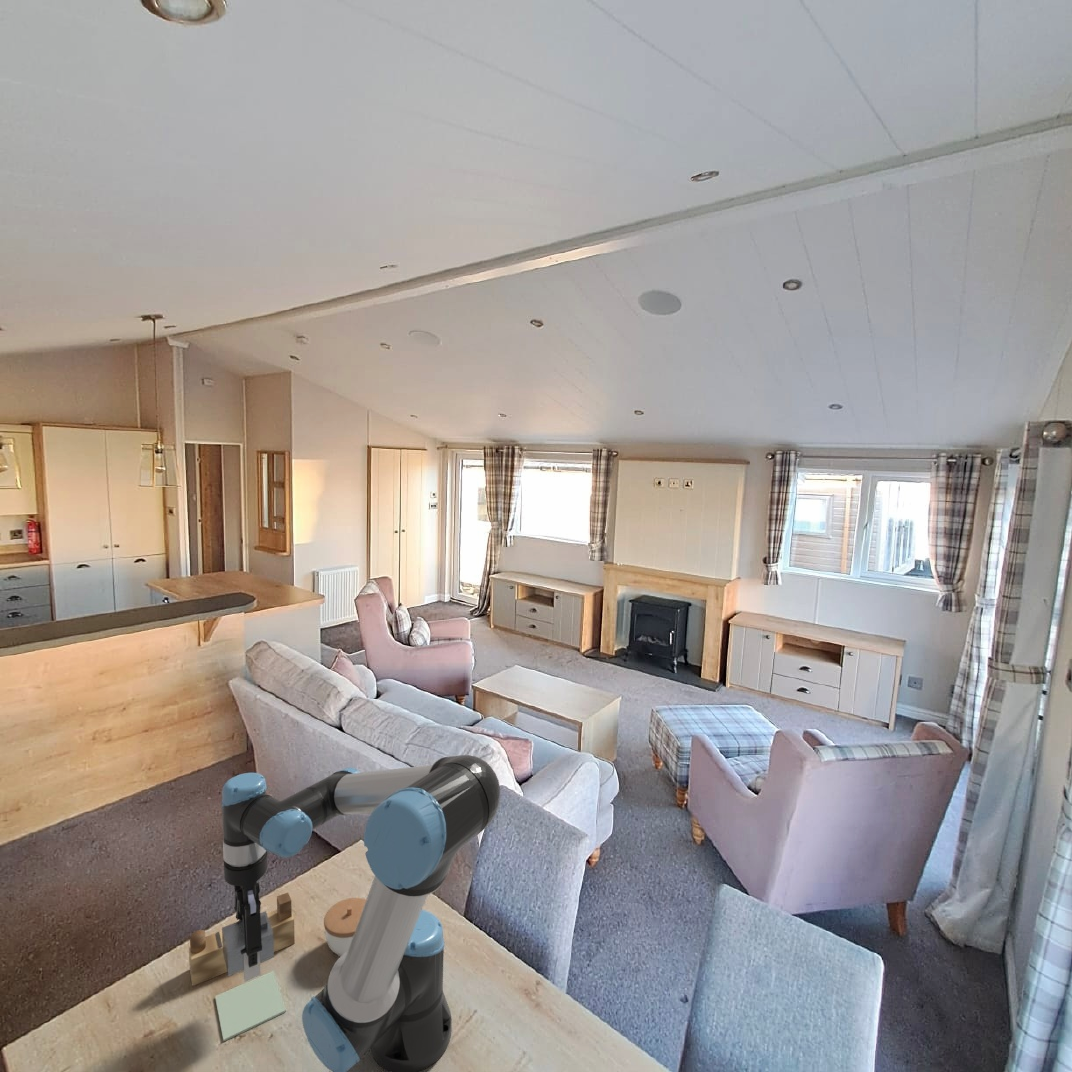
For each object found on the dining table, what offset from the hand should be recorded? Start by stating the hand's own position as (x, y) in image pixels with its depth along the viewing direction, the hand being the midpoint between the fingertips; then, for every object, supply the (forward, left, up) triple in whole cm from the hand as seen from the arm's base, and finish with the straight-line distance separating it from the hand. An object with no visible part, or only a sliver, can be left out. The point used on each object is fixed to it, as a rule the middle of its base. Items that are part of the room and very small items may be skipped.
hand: (248, 962), depth 117 cm
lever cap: (0, 0, +2) cm, 2 cm away
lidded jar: (+3, -21, -9) cm, 23 cm away
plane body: (+13, -1, -9) cm, 16 cm away
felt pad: (0, 0, -9) cm, 9 cm away
